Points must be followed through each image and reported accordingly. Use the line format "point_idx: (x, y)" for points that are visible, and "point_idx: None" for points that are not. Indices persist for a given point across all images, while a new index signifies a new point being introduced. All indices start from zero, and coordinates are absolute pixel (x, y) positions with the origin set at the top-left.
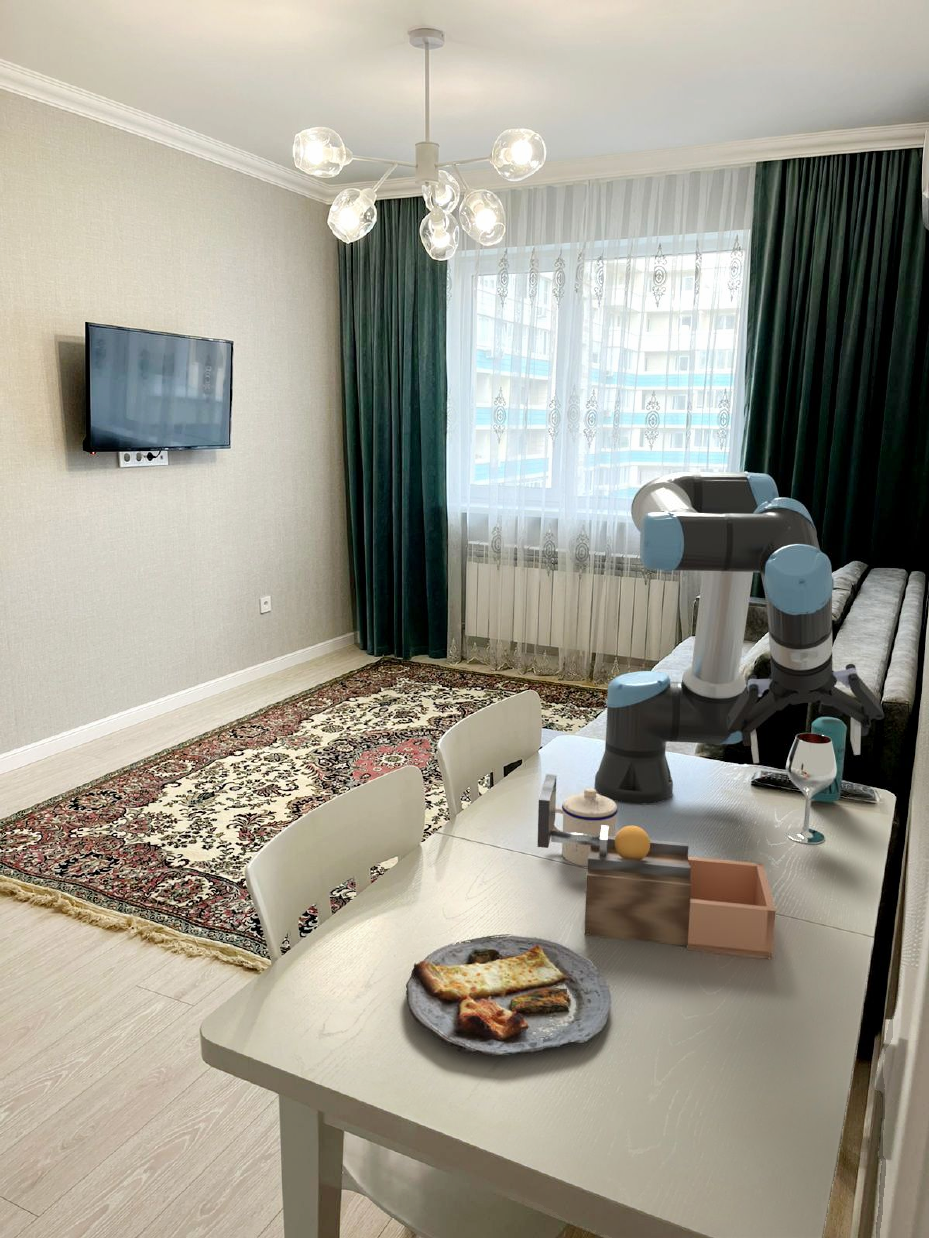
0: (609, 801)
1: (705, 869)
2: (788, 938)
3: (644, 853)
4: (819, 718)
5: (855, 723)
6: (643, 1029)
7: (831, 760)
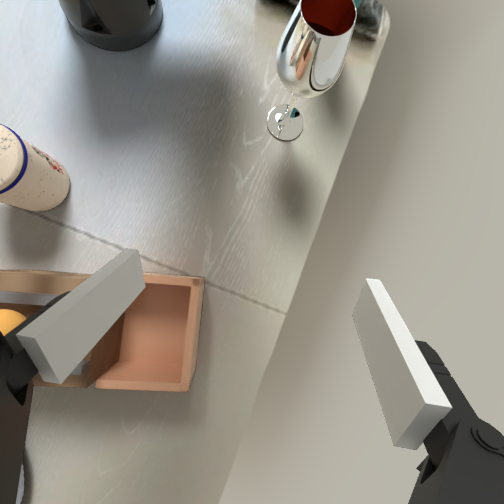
0: (6, 151)
1: None
2: (218, 330)
3: None
4: None
5: (402, 440)
6: (60, 499)
7: (339, 63)
